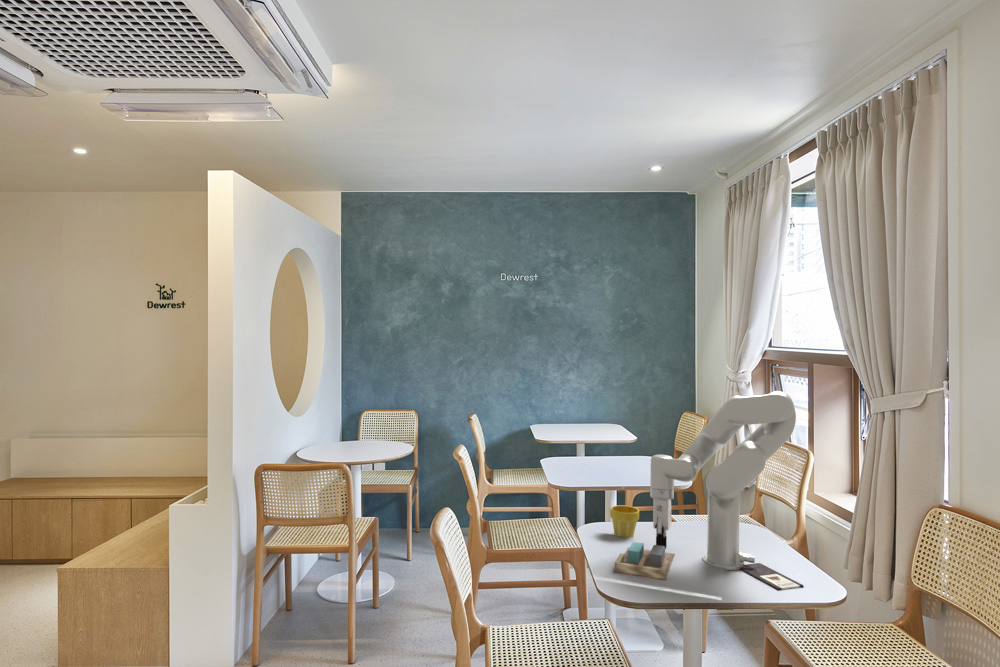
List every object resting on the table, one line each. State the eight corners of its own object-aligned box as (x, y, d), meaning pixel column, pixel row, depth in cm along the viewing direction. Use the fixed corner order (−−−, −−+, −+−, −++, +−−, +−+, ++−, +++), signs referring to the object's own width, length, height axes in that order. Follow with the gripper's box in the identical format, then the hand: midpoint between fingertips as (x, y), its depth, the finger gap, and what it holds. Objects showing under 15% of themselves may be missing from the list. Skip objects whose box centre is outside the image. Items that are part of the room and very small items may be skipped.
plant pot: (643, 535, 217) (643, 508, 217) (631, 542, 209) (631, 514, 209) (617, 529, 223) (617, 503, 223) (604, 536, 215) (605, 509, 215)
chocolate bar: (759, 562, 190) (803, 585, 172) (759, 565, 190) (803, 588, 172) (735, 565, 187) (777, 588, 170) (735, 568, 187) (777, 591, 170)
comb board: (674, 556, 196) (675, 546, 196) (665, 583, 174) (665, 572, 174) (628, 549, 202) (628, 540, 202) (613, 574, 179) (613, 563, 179)
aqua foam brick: (643, 554, 195) (643, 543, 195) (639, 563, 187) (639, 552, 187) (632, 552, 197) (632, 541, 197) (627, 561, 188) (627, 550, 188)
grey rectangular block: (665, 557, 193) (665, 546, 193) (661, 566, 184) (661, 555, 184) (653, 555, 194) (653, 544, 194) (649, 564, 186) (649, 553, 186)
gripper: (670, 499, 190) (670, 557, 190) (676, 489, 204) (675, 543, 203) (646, 496, 193) (646, 553, 192) (653, 486, 207) (653, 539, 206)
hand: (661, 548), depth 198 cm, fingers closed
